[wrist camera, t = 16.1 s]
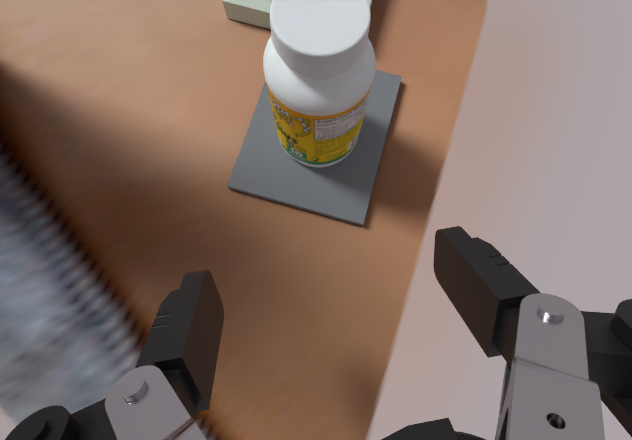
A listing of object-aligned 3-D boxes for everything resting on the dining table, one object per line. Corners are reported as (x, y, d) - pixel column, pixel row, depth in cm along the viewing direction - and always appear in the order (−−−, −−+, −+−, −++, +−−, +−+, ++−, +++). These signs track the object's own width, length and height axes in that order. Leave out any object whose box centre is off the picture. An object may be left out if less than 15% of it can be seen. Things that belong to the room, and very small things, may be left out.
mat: (362, 225, 22) (363, 224, 21) (229, 188, 22) (227, 186, 21) (400, 81, 24) (401, 76, 23) (279, 49, 24) (278, 44, 24)
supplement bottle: (370, 154, 22) (411, 48, 13) (293, 180, 22) (278, 91, 12) (340, 86, 23) (358, -57, 14) (266, 110, 23) (234, -21, 13)
